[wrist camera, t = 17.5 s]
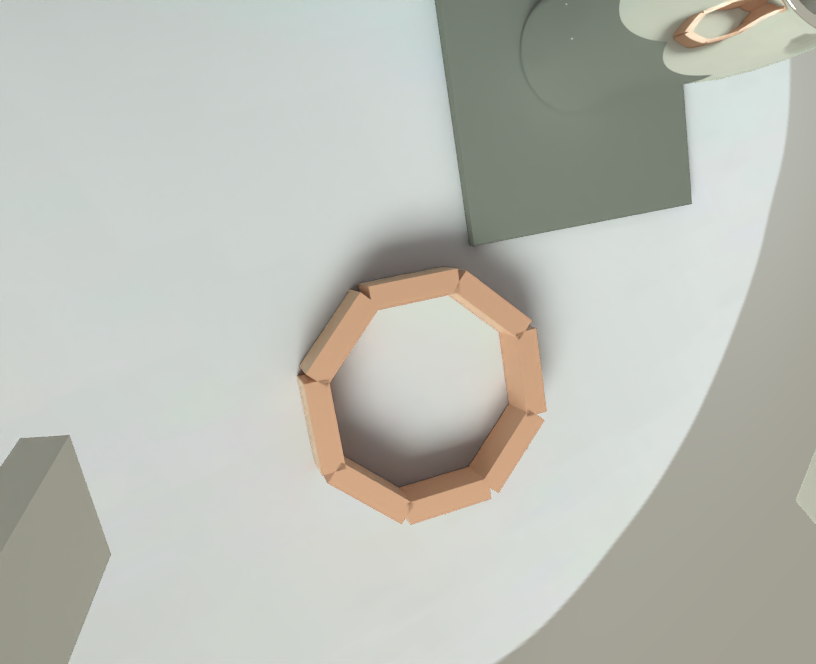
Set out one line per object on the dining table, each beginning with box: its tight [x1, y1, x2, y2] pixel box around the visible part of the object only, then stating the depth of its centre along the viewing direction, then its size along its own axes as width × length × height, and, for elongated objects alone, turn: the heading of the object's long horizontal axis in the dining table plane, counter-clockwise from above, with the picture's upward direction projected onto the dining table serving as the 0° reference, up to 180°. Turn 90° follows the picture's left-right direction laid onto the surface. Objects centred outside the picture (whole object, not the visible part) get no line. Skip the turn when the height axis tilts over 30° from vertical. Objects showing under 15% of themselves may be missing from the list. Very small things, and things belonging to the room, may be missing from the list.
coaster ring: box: [297, 267, 547, 525], centre depth 33 cm, size 12×12×2 cm
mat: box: [435, 0, 692, 246], centre depth 34 cm, size 18×14×1 cm
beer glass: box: [521, 0, 816, 113], centre depth 26 cm, size 7×7×15 cm
